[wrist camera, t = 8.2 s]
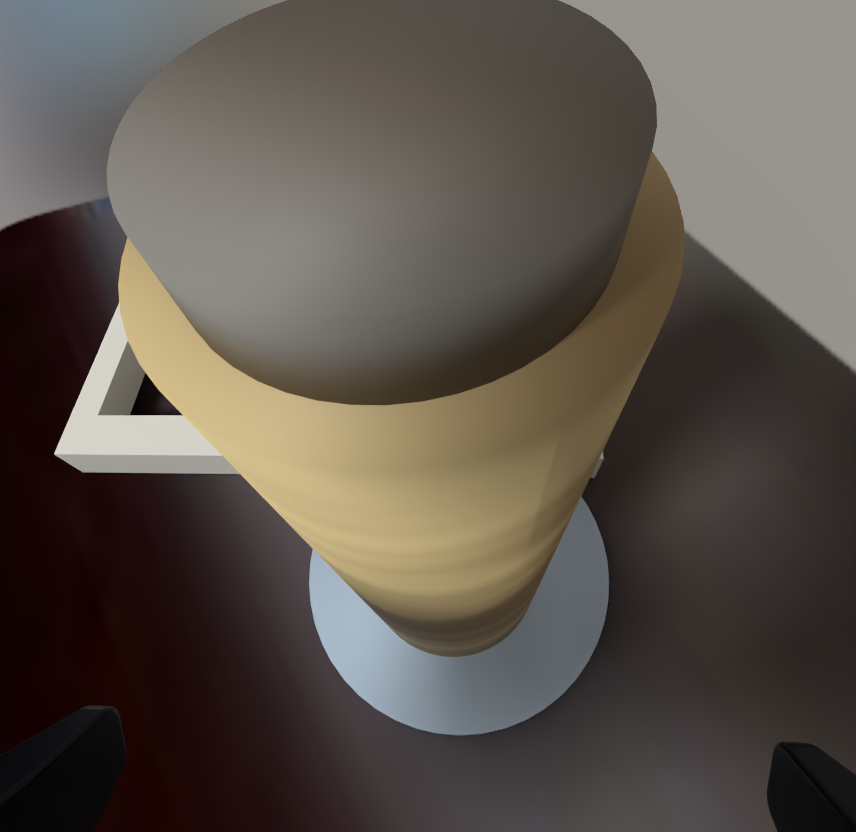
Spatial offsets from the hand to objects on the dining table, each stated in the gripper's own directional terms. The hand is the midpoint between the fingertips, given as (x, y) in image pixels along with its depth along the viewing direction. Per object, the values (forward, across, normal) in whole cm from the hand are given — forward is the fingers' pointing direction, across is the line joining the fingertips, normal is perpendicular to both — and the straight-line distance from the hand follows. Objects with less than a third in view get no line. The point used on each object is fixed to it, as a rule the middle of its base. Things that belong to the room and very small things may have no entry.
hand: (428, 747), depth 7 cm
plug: (+9, 0, +2) cm, 9 cm away
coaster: (+9, 0, +2) cm, 9 cm away
